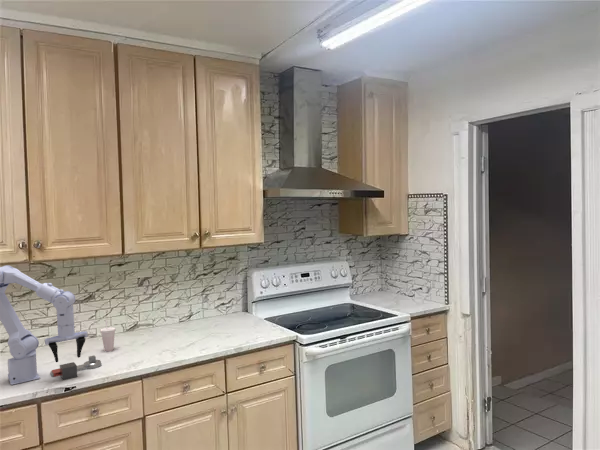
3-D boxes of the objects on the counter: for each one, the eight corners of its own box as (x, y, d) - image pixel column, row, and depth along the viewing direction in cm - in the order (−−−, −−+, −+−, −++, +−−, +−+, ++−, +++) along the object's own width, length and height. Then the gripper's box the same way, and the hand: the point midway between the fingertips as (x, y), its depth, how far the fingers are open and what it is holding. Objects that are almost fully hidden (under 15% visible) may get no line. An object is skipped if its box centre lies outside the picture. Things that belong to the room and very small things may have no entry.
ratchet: (52, 378, 177) (52, 367, 176) (49, 373, 182) (49, 363, 182) (102, 367, 188) (102, 356, 187) (98, 362, 193) (98, 352, 193)
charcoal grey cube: (62, 380, 174) (62, 368, 174) (60, 376, 178) (59, 365, 178) (77, 377, 177) (76, 365, 177) (74, 373, 181) (73, 362, 181)
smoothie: (99, 350, 209) (97, 319, 208) (113, 346, 213) (111, 316, 212) (104, 353, 204) (103, 322, 203) (119, 349, 208) (117, 319, 208)
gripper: (46, 330, 169) (48, 366, 170) (88, 322, 178) (90, 357, 178) (43, 326, 174) (45, 361, 175) (84, 319, 183) (86, 352, 184)
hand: (67, 359), depth 177 cm, fingers open, 7 cm apart
